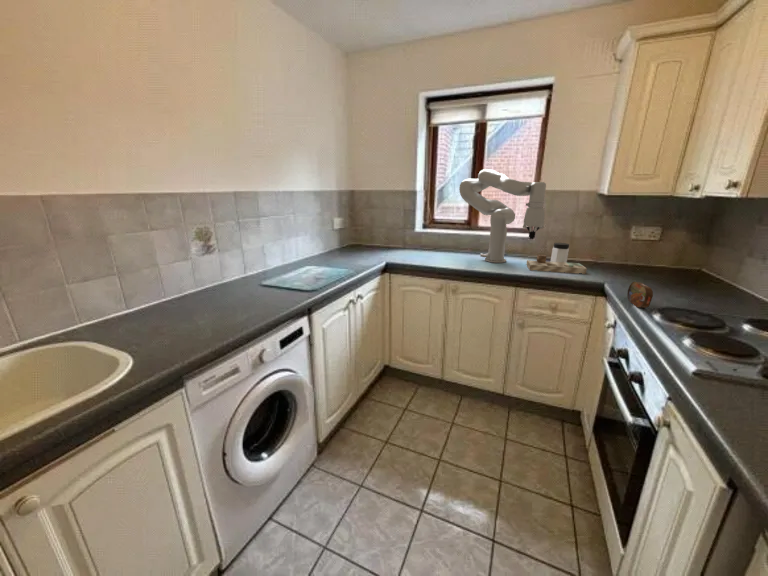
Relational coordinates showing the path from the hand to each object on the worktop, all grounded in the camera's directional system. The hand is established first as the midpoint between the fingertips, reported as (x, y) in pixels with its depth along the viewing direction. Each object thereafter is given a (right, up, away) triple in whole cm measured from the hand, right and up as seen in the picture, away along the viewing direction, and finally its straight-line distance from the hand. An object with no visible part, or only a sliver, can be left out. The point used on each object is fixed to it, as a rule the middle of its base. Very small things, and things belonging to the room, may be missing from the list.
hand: (531, 238), depth 186 cm
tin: (+16, -35, -57) cm, 69 cm away
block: (+7, -13, +2) cm, 15 cm away
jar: (+23, -13, +15) cm, 30 cm away
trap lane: (+13, -18, -1) cm, 22 cm away
